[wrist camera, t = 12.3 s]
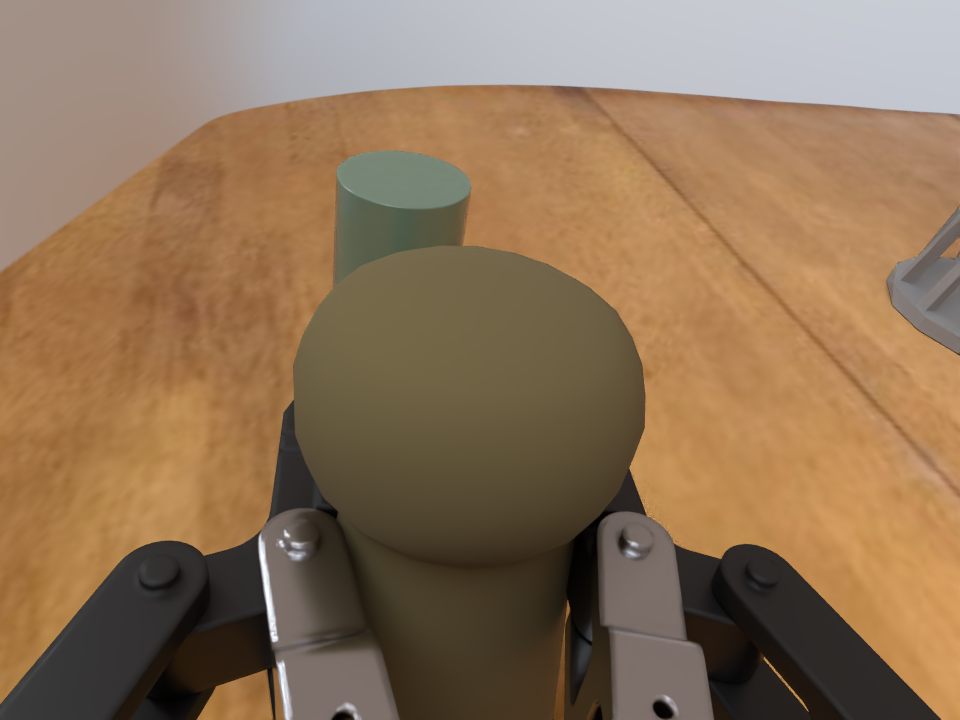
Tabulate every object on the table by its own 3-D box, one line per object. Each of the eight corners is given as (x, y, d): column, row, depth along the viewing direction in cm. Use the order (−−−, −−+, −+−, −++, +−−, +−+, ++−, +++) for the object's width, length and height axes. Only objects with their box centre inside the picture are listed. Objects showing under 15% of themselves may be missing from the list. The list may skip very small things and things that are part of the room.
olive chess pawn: (447, 949, 14) (579, 537, 7) (210, 744, 16) (151, 291, 10) (596, 695, 18) (760, 296, 12) (393, 562, 20) (436, 167, 14)
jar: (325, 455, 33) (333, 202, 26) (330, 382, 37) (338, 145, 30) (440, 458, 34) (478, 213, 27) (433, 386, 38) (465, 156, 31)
